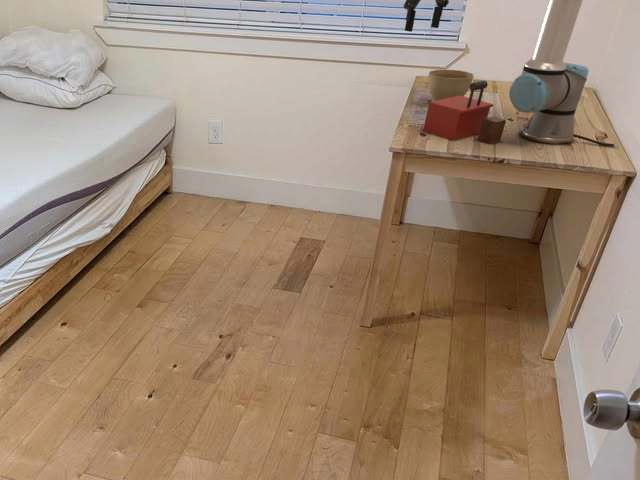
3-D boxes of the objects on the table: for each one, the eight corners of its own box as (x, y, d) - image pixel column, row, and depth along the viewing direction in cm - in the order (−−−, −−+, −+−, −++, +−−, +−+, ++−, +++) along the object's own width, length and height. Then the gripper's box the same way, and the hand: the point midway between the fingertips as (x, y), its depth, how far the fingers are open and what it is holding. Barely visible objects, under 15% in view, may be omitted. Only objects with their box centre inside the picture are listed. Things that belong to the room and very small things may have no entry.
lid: (492, 106, 226) (500, 80, 221) (462, 113, 219) (469, 86, 214) (459, 97, 235) (465, 72, 230) (428, 104, 228) (434, 77, 224)
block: (500, 141, 223) (506, 119, 219) (490, 144, 221) (496, 122, 217) (486, 137, 227) (492, 116, 223) (477, 140, 225) (483, 118, 221)
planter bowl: (469, 101, 266) (476, 71, 260) (463, 110, 254) (471, 80, 248) (426, 96, 272) (433, 67, 266) (419, 105, 261) (425, 75, 254)
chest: (483, 132, 231) (490, 106, 226) (453, 140, 225) (460, 112, 220) (452, 124, 240) (458, 98, 235) (422, 130, 233) (428, 104, 228)
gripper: (450, -43, 235) (436, 24, 247) (400, -40, 224) (388, 31, 236) (469, -42, 230) (453, 27, 242) (418, -38, 219) (405, 34, 231)
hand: (421, 29), depth 239 cm, fingers open, 13 cm apart
